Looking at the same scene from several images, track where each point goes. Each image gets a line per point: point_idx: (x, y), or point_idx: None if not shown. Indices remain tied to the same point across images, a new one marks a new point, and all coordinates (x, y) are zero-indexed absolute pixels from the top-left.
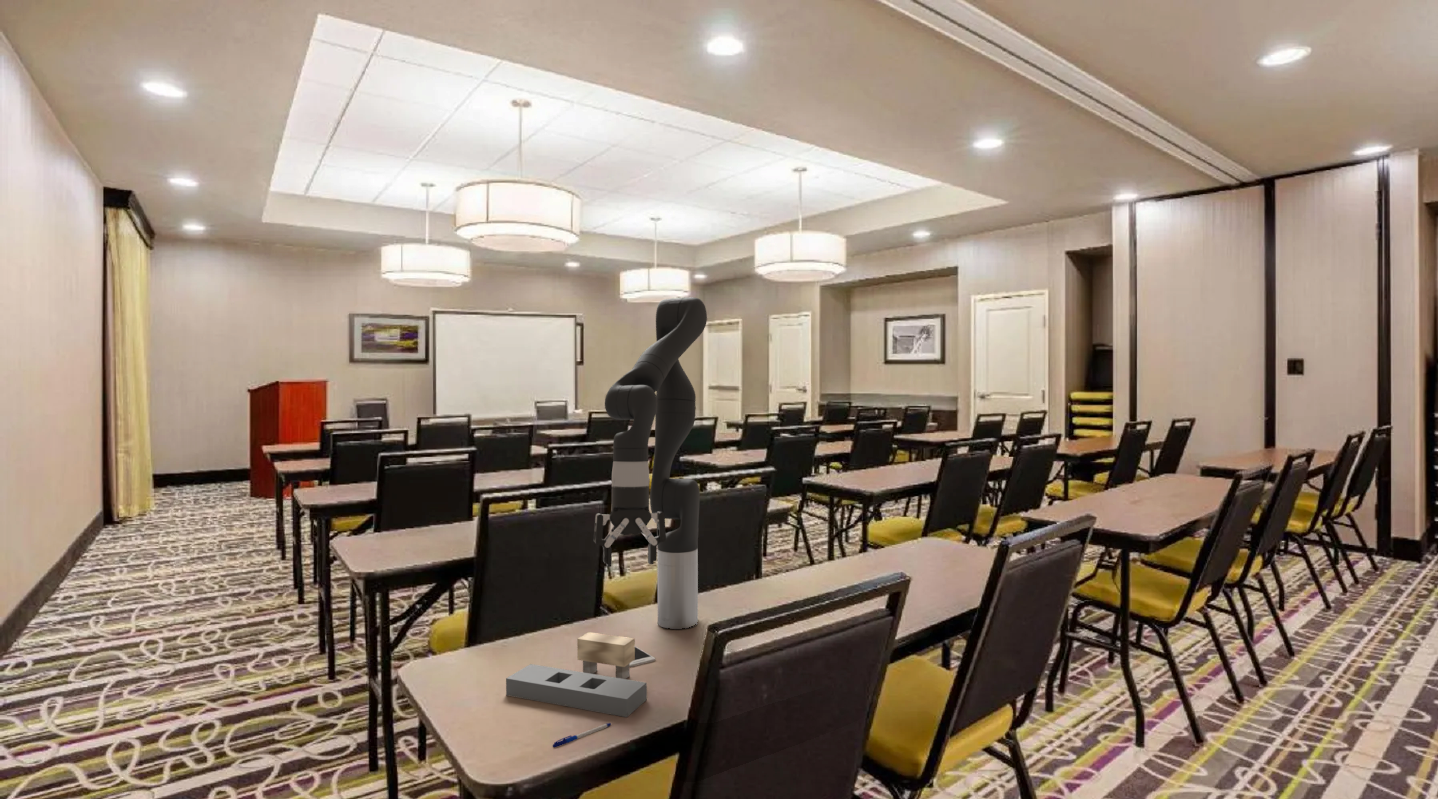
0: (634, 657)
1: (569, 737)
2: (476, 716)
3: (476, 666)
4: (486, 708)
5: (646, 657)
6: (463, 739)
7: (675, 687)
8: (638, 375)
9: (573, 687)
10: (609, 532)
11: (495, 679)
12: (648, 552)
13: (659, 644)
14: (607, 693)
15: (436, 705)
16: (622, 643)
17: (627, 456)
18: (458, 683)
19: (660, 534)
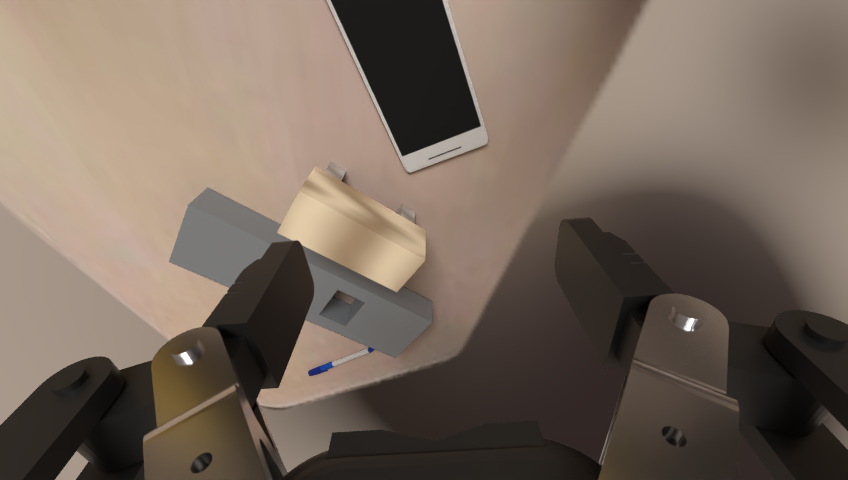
0: (425, 234)
1: (325, 368)
2: (174, 296)
3: (17, 68)
4: (176, 277)
5: (468, 131)
6: None
7: (489, 273)
8: None
9: (309, 315)
10: (156, 453)
11: (124, 166)
12: (589, 271)
13: (535, 8)
14: (366, 340)
15: (79, 252)
16: (393, 281)
17: None
18: (50, 169)
19: (774, 470)
